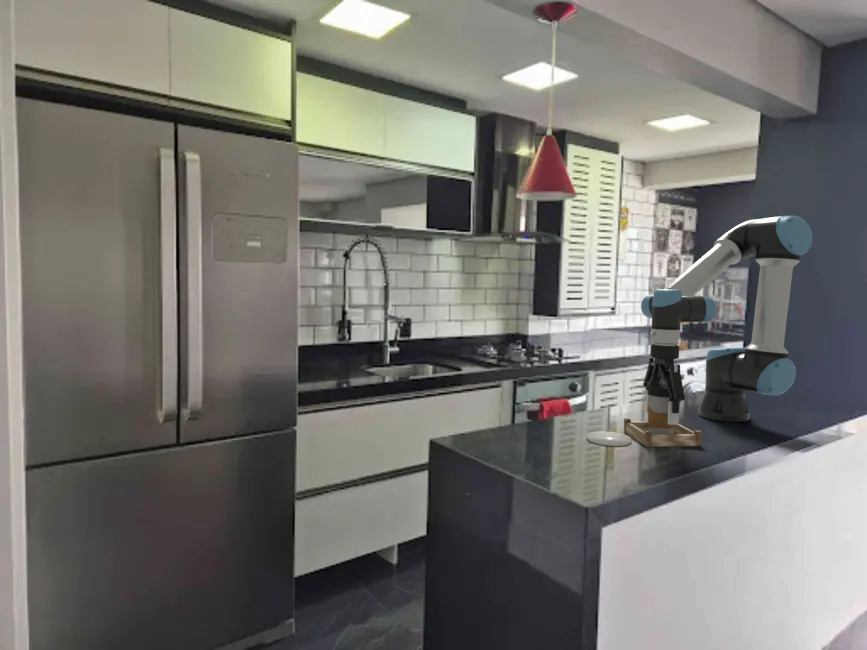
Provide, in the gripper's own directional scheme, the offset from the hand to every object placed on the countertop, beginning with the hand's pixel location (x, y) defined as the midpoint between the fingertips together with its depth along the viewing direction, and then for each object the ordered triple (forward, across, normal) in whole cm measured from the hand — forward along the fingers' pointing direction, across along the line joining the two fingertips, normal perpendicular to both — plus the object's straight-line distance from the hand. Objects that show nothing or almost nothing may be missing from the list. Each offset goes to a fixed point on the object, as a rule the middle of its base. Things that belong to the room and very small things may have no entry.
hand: (661, 418), depth 162 cm
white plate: (+6, +1, -15) cm, 17 cm away
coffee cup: (+6, 0, 0) cm, 6 cm away
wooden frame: (+6, 0, 0) cm, 6 cm away
